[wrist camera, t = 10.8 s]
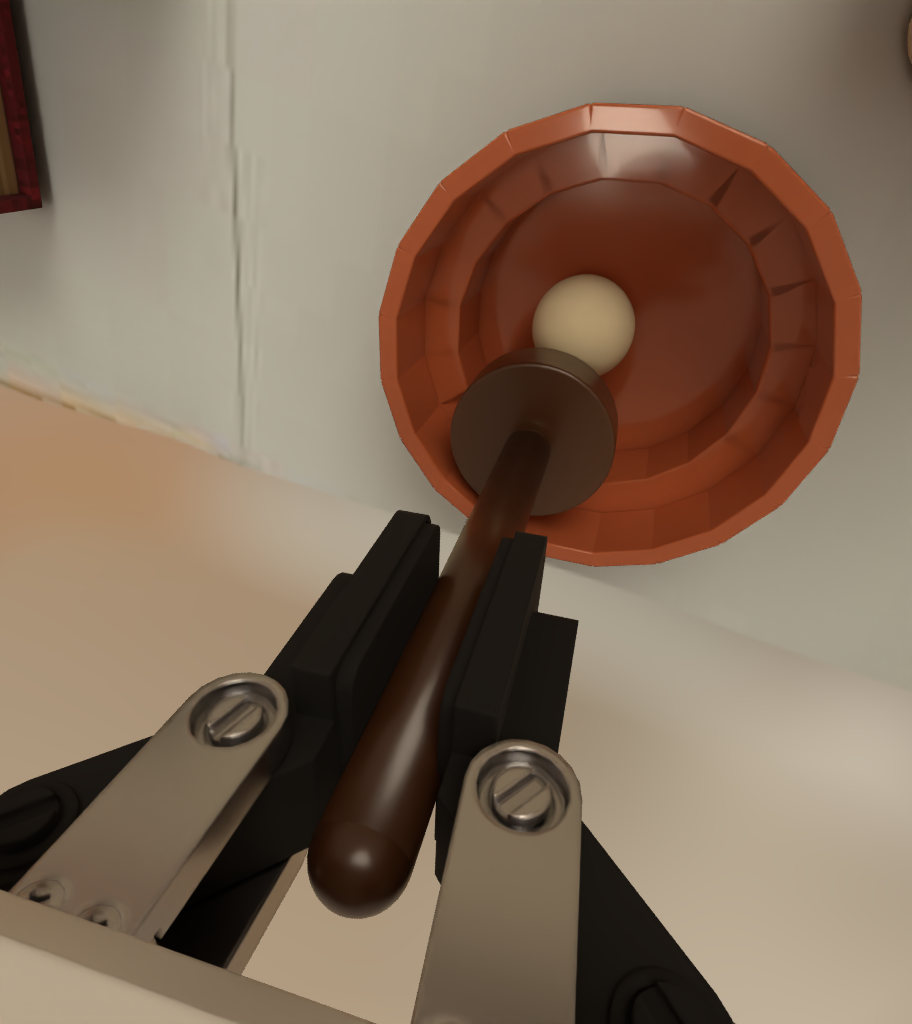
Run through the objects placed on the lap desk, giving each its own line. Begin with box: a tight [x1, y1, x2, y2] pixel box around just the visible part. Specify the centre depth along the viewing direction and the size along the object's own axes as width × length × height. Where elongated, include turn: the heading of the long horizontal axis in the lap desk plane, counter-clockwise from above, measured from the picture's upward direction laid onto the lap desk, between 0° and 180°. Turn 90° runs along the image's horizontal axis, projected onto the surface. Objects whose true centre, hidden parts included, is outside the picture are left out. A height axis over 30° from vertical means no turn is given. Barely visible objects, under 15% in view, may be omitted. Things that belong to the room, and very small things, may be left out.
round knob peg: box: [307, 347, 618, 919], centre depth 12 cm, size 4×4×14 cm
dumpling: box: [532, 274, 635, 376], centre depth 17 cm, size 3×3×3 cm
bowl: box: [379, 103, 862, 567], centre depth 17 cm, size 11×11×5 cm
